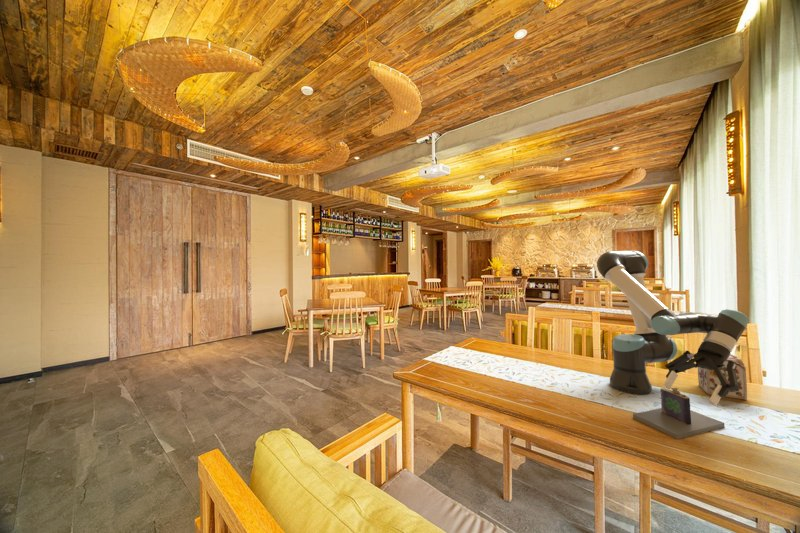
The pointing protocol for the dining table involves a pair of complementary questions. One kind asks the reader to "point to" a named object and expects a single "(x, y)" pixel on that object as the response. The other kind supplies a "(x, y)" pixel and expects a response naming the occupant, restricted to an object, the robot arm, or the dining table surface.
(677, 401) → the flask
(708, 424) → the slate board
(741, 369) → the decorative jar
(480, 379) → the dining table surface
